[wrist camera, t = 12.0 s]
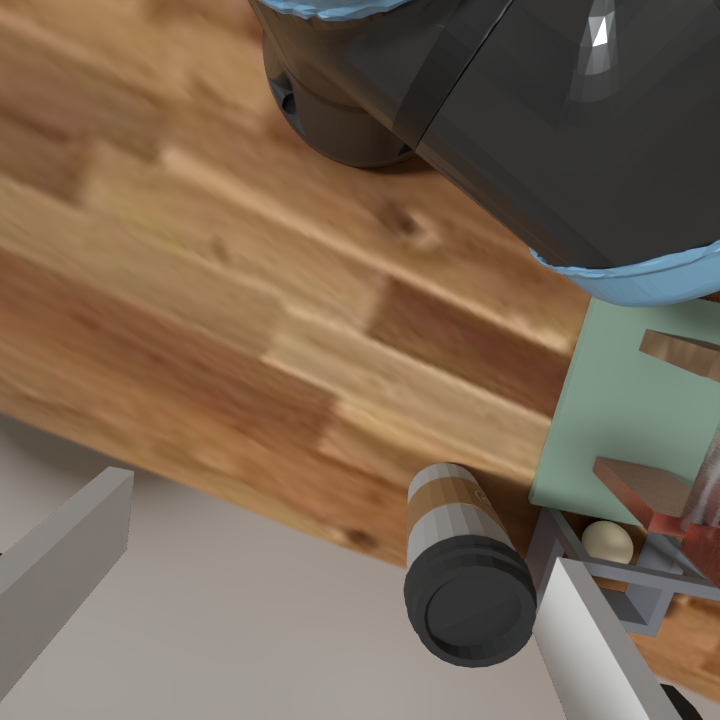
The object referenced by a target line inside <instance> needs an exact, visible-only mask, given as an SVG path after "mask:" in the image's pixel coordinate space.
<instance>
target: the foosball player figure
mask: <svg viewBox="0 0 720 720" xmlns="http://www.w3.org/2000/svg"><path fill="white" fill-rule="evenodd" d="M638 351H641V352H643V353H646V354H648V355H650V356H653V357H655V358H658V359H660V360H663V361H665V362H667V363H670V364H672V365H675V366H677V367H680V368H682V369H684V370H687V371H689V372H692V373H694V374H696V375H699V376H702V377H707V378H709V379H712V380H714V381H717V382H719V383H720V345H717V344H714V343H710V342H707V341H702V340H697V339H693V338H688V337H683V336H678V335H673V334H668V333H663V332H659V331H654V330H649V329H646V330H645V333H644V336H643V339H642V342H641V345H640V347H639V350H638Z"/></svg>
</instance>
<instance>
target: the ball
mask: <svg viewBox="0 0 720 720" xmlns="http://www.w3.org/2000/svg"><path fill="white" fill-rule="evenodd" d="M582 545H583V547H584V548H585V550H586V551H587V552H588V554H589V555H590V557H595V558H600V559H605V560H610V561H614V562H619V563H624V564H628V563H629V562H630V560H631V558H632V555H633V544H632V540H631V538H630V536H629V535H628V533H627V532H626V531H625V530H624V529H623V528H622V527H620V526H619V525H617V524H615V523H613V522H609V521H598V522H594V523H592V524H590V525H589V526H588V527H587V528H586V529H585V531H584V533H583V535H582Z"/></svg>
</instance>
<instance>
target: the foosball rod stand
mask: <svg viewBox="0 0 720 720" xmlns="http://www.w3.org/2000/svg"><path fill="white" fill-rule="evenodd" d="M592 472H593V473H594V474H595V475H596V476H597V477H598V478H599V479H600V480H601V481H602V483H603V484H604V485H605V486H606V487H607V488H608V489H609V490H610V491H611V492H612V493H613V494H614V495H615V496H616V498H617V499H618V500H619V501H620V502H621V503H622V504H623V505H624V506H625V507H626V508H627V509H628V510H629V511H630V513H631V514H632V515H633V516H634V517H635V518H636V519H637V520H638V521H639V522H640V523H641V524H642V525H643V527H644V528H645V529H646V530H647V531H652V532H656V533H661V534H666V535H671V536H676V537H681V538H683V541H682V543H681V546H680V548H679V549H680V550H681V551H682V552H683V553H684V554H685V555H686V556H687V557H688V558H689V559H690V560H691V561H692V562H693V563H694V564H695V565H696V566H697V567H698V568H699V569H700V570H701V571H702V572H703V573H704V574H705V575H706V576H707V577H708V578H709V579H710V580H711V581H712V582H713V583H714V584H715V585H716V586H717V588H718V589H719V590H720V420H719V422H718V425H717V427H716V430H715V432H714V435H713V437H712V440H711V442H710V444H709V447H708V449H707V452H706V454H705V457H704V459H703V462H702V464H701V466H700V469H699V471H698V474H697V476H696V479H695V481H694V484H693V486H692V488H691V490H690V489H689V488H688V487H686V486H685V485H684V484H683V483H681V482H680V481H679V480H678V479H676V478H675V477H674V476H673V475H671V474H670V473H669V472H667V471H666V470H661V469H656V468H652V467H647V466H642V465H637V464H632V463H627V462H622V461H617V460H612V459H607V458H602V457H597V458H596V461H595V464H594V467H593V470H592Z"/></svg>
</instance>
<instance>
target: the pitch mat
mask: <svg viewBox="0 0 720 720" xmlns="http://www.w3.org/2000/svg"><path fill="white" fill-rule="evenodd" d="M646 329H649V330H654V331H659V332H663V333H668V334H673V335H678V336H683V337H688V338H693V339H697V340H702V341H707V342H710V343H714V344H717V345H720V303H717V302H712V301H708V300H703V299H698V298H696V299H692V300H689V301H685V302H681V303H676V304H671V305H665V306H657V307H623V306H618V305H613V304H610V303H608V302H605V301H602V300H599V299H596V298H594V297H593V296H592V297H591V300H590V304H589V307H588V310H587V313H586V316H585V319H584V322H583V326H582V329H581V332H580V335H579V338H578V341H577V345H576V348H575V351H574V354H573V357H572V360H571V363H570V367H569V370H568V373H567V376H566V379H565V382H564V385H563V389H562V392H561V395H560V398H559V401H558V404H557V407H556V411H555V414H554V417H553V420H552V423H551V426H550V429H549V433H548V436H547V439H546V442H545V445H544V448H543V451H542V455H541V458H540V461H539V464H538V467H537V470H536V473H535V477H534V480H533V483H532V486H531V489H530V492H529V495H528V500H529V501H530V503H531V504H533V505H538V506H543V507H548V508H553V509H558V510H563V511H568V512H573V513H578V514H582V515H587V516H592V517H597V518H602V519H607V520H612V521H617V522H622V523H627V524H632V525H637V526H642V527H643V525H642V524H641V523H640V522H639V521H638V520H637V519H636V518H635V517H634V516H633V515H632V514H631V513H630V511H629V510H628V509H627V508H626V507H625V506H624V505H623V504H622V503H621V502H620V501H619V500H618V499H617V498H616V496H615V495H614V494H613V493H612V492H611V491H610V490H609V489H608V488H607V487H606V486H605V485H604V484H603V483H602V481H601V480H600V479H599V478H598V477H597V476H596V475H595V474H594V473H593V472H592V470H593V467H594V464H595V461H596V458H597V457H602V458H607V459H612V460H617V461H622V462H627V463H632V464H637V465H642V466H647V467H652V468H656V469H661V470H666V471H667V472H669V473H670V474H671V475H673V476H674V477H675V478H676V479H678V480H679V481H680V482H681V483H683V484H684V485H685V486H686V487H688V488H689V489H690V490H691V488H692V486H693V484H694V481H695V479H696V476H697V474H698V471H699V469H700V466H701V464H702V462H703V459H704V457H705V454H706V452H707V449H708V447H709V444H710V442H711V440H712V437H713V435H714V432H715V430H716V427H717V425H718V422H719V420H720V383H719V382H717V381H714V380H712V379H709V378H707V377H702V376H699V375H696V374H694V373H692V372H689V371H687V370H684V369H682V368H680V367H677V366H675V365H672V364H670V363H667V362H665V361H663V360H660V359H658V358H655V357H653V356H650V355H648V354H646V353H643V352H641V351H638V350H639V347H640V345H641V342H642V339H643V336H644V333H645V330H646Z"/></svg>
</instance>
